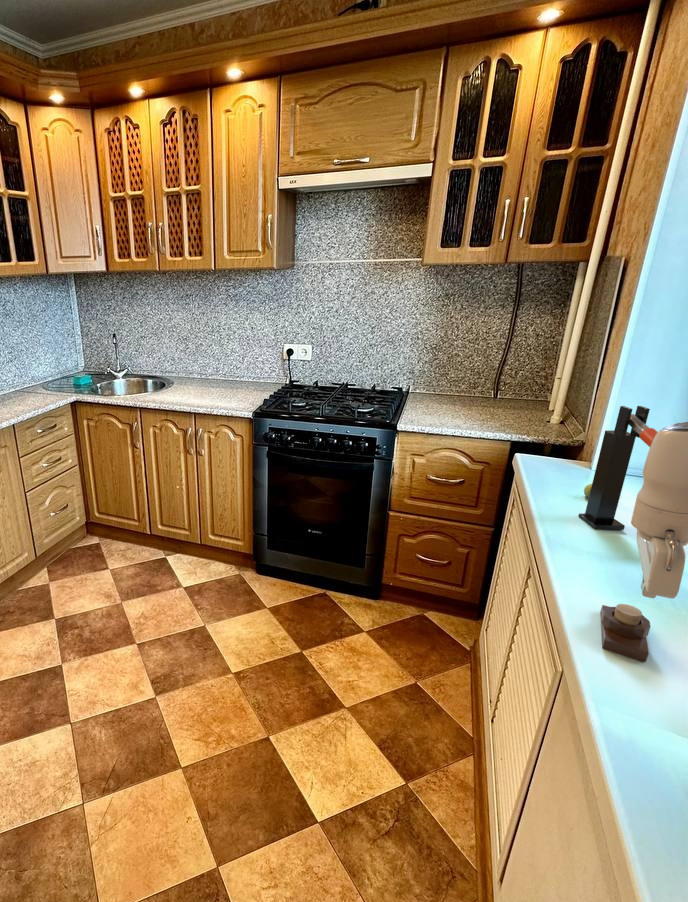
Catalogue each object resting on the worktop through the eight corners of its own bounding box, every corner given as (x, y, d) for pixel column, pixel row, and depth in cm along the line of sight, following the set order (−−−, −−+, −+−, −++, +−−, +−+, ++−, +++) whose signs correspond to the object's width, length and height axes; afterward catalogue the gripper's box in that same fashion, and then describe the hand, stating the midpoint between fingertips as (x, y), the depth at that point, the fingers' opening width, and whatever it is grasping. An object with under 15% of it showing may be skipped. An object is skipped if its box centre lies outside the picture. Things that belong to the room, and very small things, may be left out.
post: (623, 529, 131) (657, 409, 120) (594, 529, 132) (625, 409, 121) (605, 517, 138) (635, 402, 127) (577, 517, 138) (605, 402, 128)
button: (613, 611, 95) (615, 601, 95) (638, 617, 93) (641, 607, 93) (614, 621, 93) (616, 611, 92) (640, 628, 91) (643, 618, 90)
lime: (578, 496, 150) (584, 480, 148) (594, 495, 151) (599, 480, 149) (590, 503, 146) (596, 487, 144) (606, 503, 147) (612, 486, 145)
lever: (665, 452, 116) (672, 440, 114) (650, 452, 116) (657, 440, 114) (632, 422, 126) (638, 410, 124) (618, 422, 126) (623, 410, 124)
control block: (598, 613, 101) (603, 595, 99) (641, 624, 97) (646, 606, 96) (600, 649, 91) (605, 630, 90) (647, 662, 88) (653, 643, 86)
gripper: (705, 551, 75) (680, 632, 80) (683, 501, 91) (664, 571, 95) (648, 541, 78) (628, 619, 83) (637, 495, 94) (620, 562, 99)
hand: (647, 593), depth 89 cm, fingers closed
